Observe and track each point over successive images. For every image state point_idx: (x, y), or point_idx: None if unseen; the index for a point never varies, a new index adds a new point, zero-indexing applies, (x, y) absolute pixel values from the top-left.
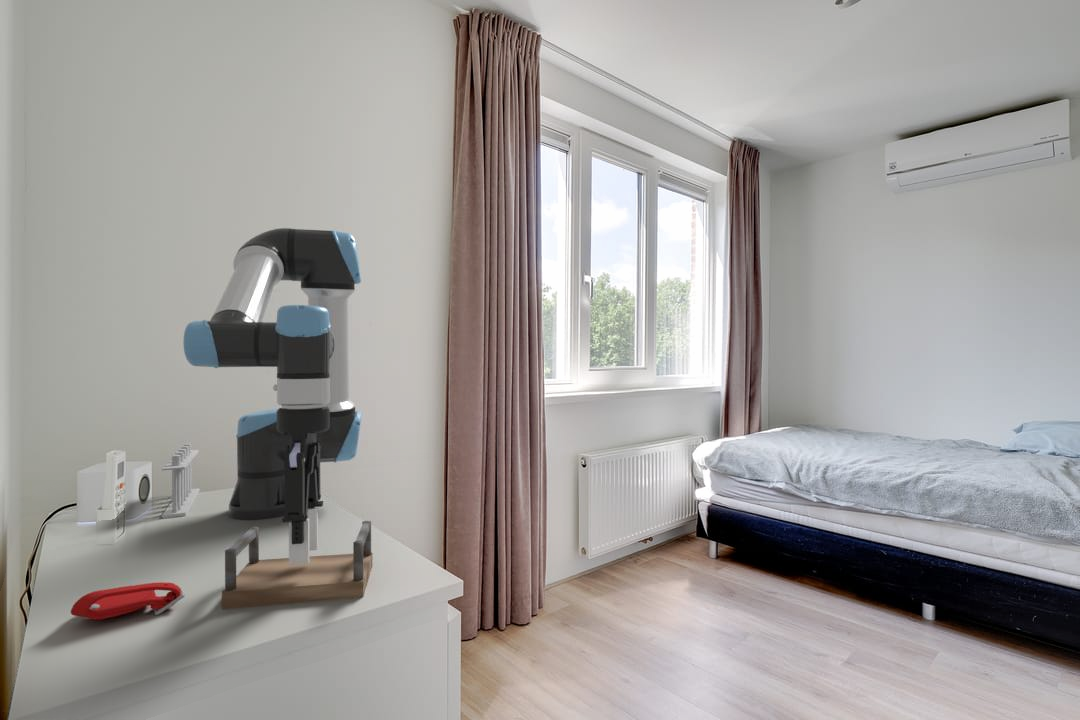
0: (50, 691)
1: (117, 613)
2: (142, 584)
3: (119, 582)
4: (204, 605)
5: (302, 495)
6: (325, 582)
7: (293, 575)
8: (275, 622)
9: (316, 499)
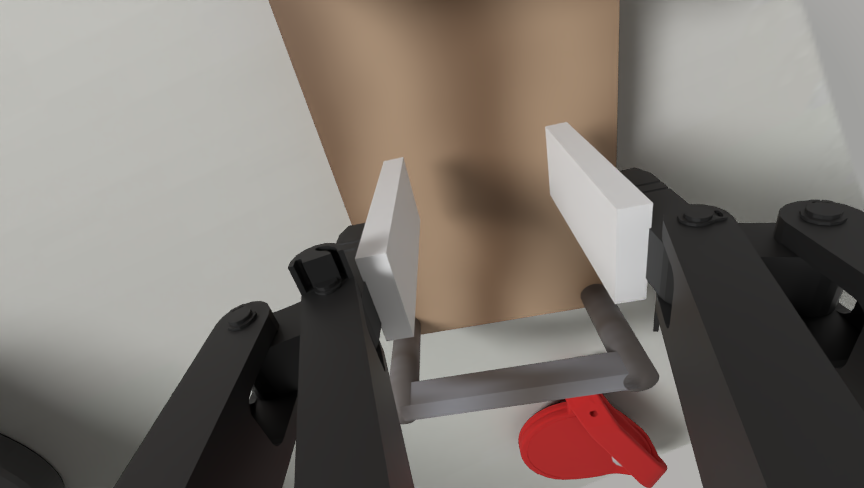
0: None
1: (627, 419)
2: (603, 445)
3: (441, 479)
4: (563, 318)
5: None
6: (600, 16)
7: (516, 172)
8: (710, 110)
9: (352, 303)
